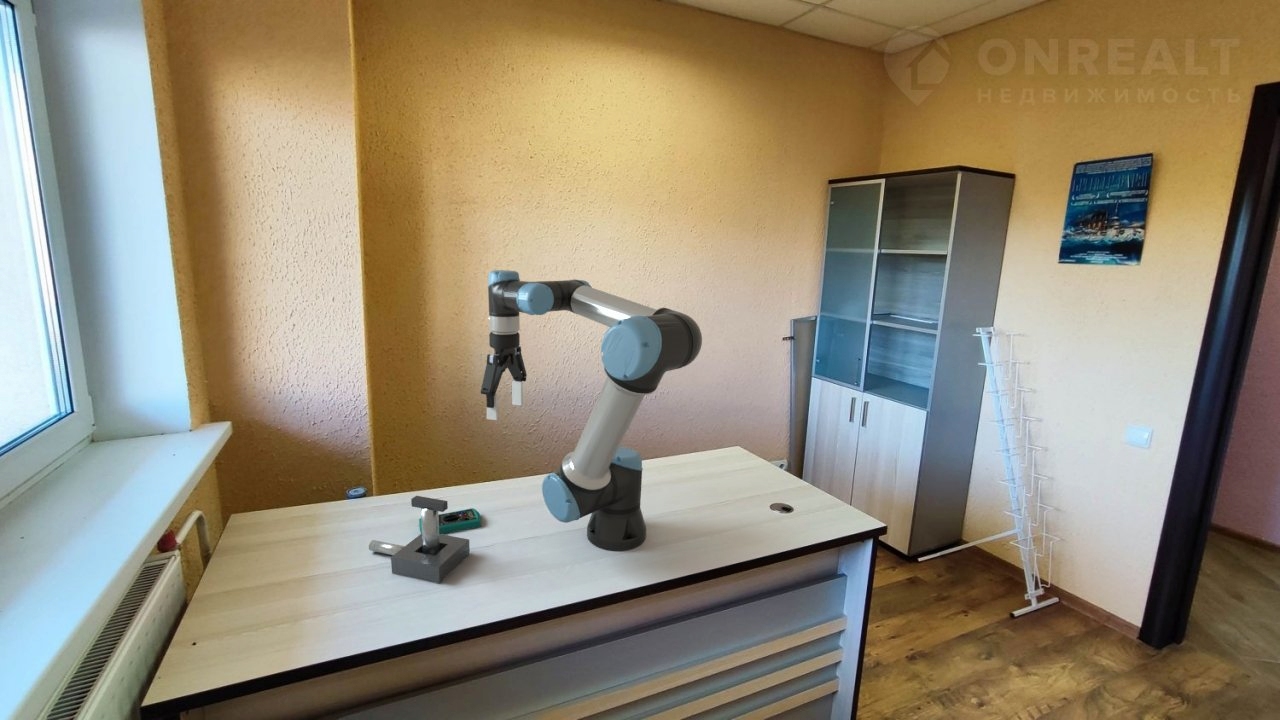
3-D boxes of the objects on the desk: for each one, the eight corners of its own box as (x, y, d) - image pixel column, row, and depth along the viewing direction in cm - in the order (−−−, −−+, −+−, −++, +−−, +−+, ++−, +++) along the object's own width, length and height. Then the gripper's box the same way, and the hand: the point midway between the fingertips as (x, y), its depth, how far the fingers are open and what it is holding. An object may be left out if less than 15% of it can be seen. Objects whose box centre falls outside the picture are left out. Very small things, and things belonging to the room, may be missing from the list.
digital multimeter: (483, 528, 148) (482, 517, 147) (422, 540, 141) (421, 529, 140) (476, 515, 154) (476, 505, 154) (418, 526, 147) (417, 516, 147)
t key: (451, 562, 131) (449, 499, 128) (442, 571, 128) (440, 506, 124) (421, 556, 133) (418, 493, 130) (411, 564, 130) (408, 500, 126)
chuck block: (469, 554, 135) (469, 539, 134) (439, 583, 123) (438, 567, 122) (390, 539, 140) (389, 524, 139) (354, 565, 129) (352, 549, 128)
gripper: (513, 324, 158) (514, 397, 162) (464, 338, 134) (466, 424, 139) (538, 326, 156) (538, 400, 161) (493, 341, 132) (494, 427, 137)
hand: (505, 411), depth 150 cm, fingers open, 13 cm apart
